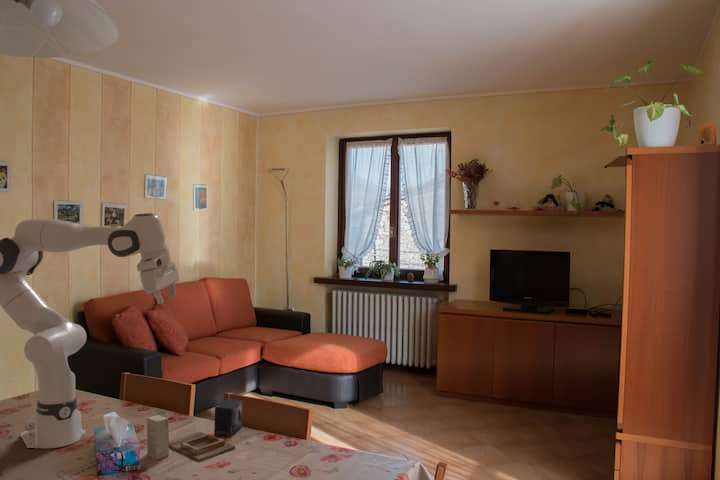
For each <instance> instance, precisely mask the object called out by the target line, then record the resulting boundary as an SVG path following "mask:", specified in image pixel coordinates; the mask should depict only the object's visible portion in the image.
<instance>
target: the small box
mask: <svg viewBox="0 0 720 480" xmlns="http://www.w3.org/2000/svg"><path fill="white" fill-rule="evenodd" d="M242 423H243V400H242V399H238V398H237V399H236V398H235V399H234V398H226V399H224V400H223V401H222V402H220V403H218V404H217V405H215V407H214V428H213V429H214V432H213V433H214V434H213V435H214V436H216V437H224V438H231V437H232V436H233V435H235V434H236V433H237V432H238V431H239V430H241V429H242V427H243V424H242Z"/></svg>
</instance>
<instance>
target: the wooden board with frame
mask: <svg viewBox="0 0 720 480" xmlns="http://www.w3.org/2000/svg"><path fill="white" fill-rule="evenodd" d="M169 449H171V450H174V451H176V452H178V453H180V454H183V455H185V456H187V457H189V458H191V459H193V460H194V461H195V460H196V461H197V462H203V461H205V460H207V459H210V458H213V457H215V456H218V455H221V454H224V453H227V452H229V451H231V450H235V449H236V445H233V444H231V443H229V442H226V439H224V438H221V437H219V436H214V434H211V433H204V432H203V431H197V432H193V433H190V434H187V435H184V436H181V437H178V438H175V439H172V440H169Z"/></svg>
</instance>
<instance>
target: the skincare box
mask: <svg viewBox="0 0 720 480" xmlns="http://www.w3.org/2000/svg"><path fill="white" fill-rule="evenodd" d="M169 429H170V428H169V418H168V417H166V416H163V415H160V414H156V415H153V416H149V417H147V418H146V437H147V438H146V441H147V444H146V447H147V448H146V449H147V450H146V451H147V453H146V454H147V456H149V457H151V458H153V459H155V460H159V459H162V458H166V457H168V456H170V447H169V441H170V437H169V435H170V434H169V431H170V430H169Z"/></svg>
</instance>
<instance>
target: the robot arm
mask: <svg viewBox="0 0 720 480" xmlns="http://www.w3.org/2000/svg"><path fill="white" fill-rule="evenodd" d="M165 234H166V233H165V231H164V227H163V225H162V223H161V219H160V218H159V216H158V215H157V214H155V213H152V212H149V213H148V212H147V213H146V212H145V213H144V212H143V213H137V214H134V215H133V216H132V217H131V219H130V220H128V222H126V224H124V225H122V226H120V227H110V226H109V227H108V226H107V227H106V226H94V225H88V224H87V225H86V224H83V223H77V222H73V221H67V220H63V219H53V218H30V219H25V220H22V221H21V222H19V223H18V224H17V225H16V228H15V231H14V235H13V237H11V238H9V237H3V238H1V239H0V307H1V309H3V311H4V312H5V313H6V314H7V315H8V317H9V318H10V319H12V321H13V322H14V323H15V324H16V326H17V327H19V328H20V329H22V330H25V331H28V332H29V333H32V334H33V335H32V336H31V337H30V338H29V339H27V340H26V342H25V345H24V348H23V352H24V355H25V357H26V359H27V360H28V362H30V363H31V364H32V365H33V367H34V369H35V372H36V375H37V382H38V399H37V402H36V409H35V412H34V414H33V415H32V416H31V417H30V418H28V420H27V423H25V424H24V431H23V432H21V433H20V434H19V435H20V436H21V437H20V438H22V439H23V440H22V439H21V440H22V442H23V441H24V442H23V444H24V443H25V444H26V445H25V444H24V445H25V447H26V446H27V447H26V448H27V449H28V448H35V449H55V448H56V449H57V448H61V447H65V446H69V445H72V444H75V443H77V442H78V441H80V440H81V438H82V437H83V436H84V435H86V434H87V432H86V430H85V429H83V428H82V427H83V426H82V413H81V411H80V410H78V409H77V408H78V400H77V399H78V397H77V396H76V375H75V373H74V372H73V371H71V369H70V366H69V363H68V357H69V356H71V355H73V354H75V353H77V352H79V350H81V348H83V346H84V345H85V344H86V342H87V336H88V335H87V332H86V330H85V329H84V327H83V326H81V325H80V324H77V323H74V322H73V321H70V320H69V319H68V318H65V316H63V315H62V314H60V313H59V312H57V311H56V310H55V309H53V308H52V307H51V306H50V305H49V304H48V302H46V300H44V298H43V297H42V296H41V295H40V293H38V291H36V289H35V288H34V287H33V285H31V284H30V282H29V281H28V278H27V276H30V275H32V274H34V271H35V270H36V269H37V267H38V266H39V265H40V264H41V262H42V260H43V257H44V252H46V253H65V252H71V251H77V250H79V249H84V248H86V247H92V246H108V247H107V248H108V250H109V251H110V252H111V254H112V255H114V256H116V257H118V258H119V257H120V258H128V257H130V256H134V255H138V254H140V255H141V256H140V257H141V258H140V261H139V262H138V263H137V265H136V269H137V271H138V272H140V273H139V276H140V281H141V284H142V288H143V290H144V292H145V293H146V294H147V295H148V294H152V295H153V297H154V298H155V300H156V303H157V304H158V305H162V304H164V303H165V299H164V297H163V296H162V291H161V290H163V289H165V288H166V287H167V288H168V297H169V298H174V297H175V296H176V284H175V283H176V282H179V281H180V276H179V272H178V269H177V266H176V263H175V262H174V261H173V260H172V258H171V255H170V250H169V247H168V245H167V244H166V235H165Z"/></svg>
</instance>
